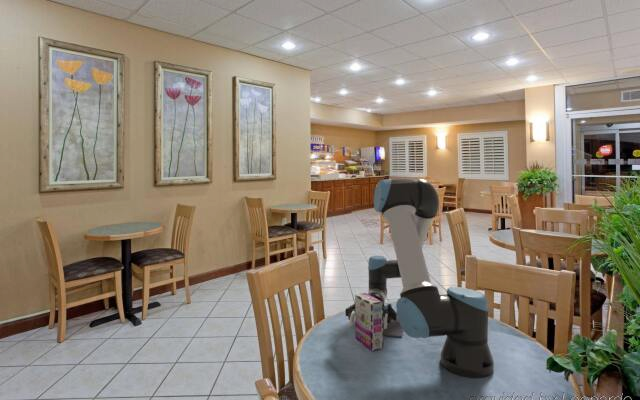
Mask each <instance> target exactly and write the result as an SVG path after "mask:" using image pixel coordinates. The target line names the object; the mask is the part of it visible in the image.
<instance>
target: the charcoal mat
mask: <svg viewBox="0 0 640 400" xmlns="http://www.w3.org/2000/svg"><path fill="white" fill-rule="evenodd" d="M384 319H385V318H384V317H383V337H390V338H398V339H399V338H401V339H402V338H403V332H404V330H403V329H402V327H401V325H400V322H399V320H398V316H397V320H396V321H394V320H393V319H392V320H391V323H387V328H386V329H384Z"/></svg>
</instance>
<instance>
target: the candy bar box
mask: <svg viewBox="0 0 640 400" xmlns="http://www.w3.org/2000/svg"><path fill="white" fill-rule="evenodd" d="M354 301H355V303H354V304H355V319H354V322H355V323H354V324H355V325H354V327H355V334H354V335H355V340H356V341H357V342H359V343H360V344H361V345H362V346H364V347H366V348H367V350H369V351H371V352H374V351H379V350H383V349H384V336H383V302H382V301H380V300H378V299H376V298H375V297H373V296H371V295H369V294H368V292H365V293H358V294H354Z"/></svg>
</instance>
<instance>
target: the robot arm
mask: <svg viewBox="0 0 640 400" xmlns="http://www.w3.org/2000/svg"><path fill="white" fill-rule="evenodd" d="M373 206H374V207H373V208H374V210H375V212H376V213H378V214H379V213H381V215H382V218H383V220H384V221H386V222H387V223H388V226H389V230H390V235H391V239H392V244H393V249H394V252H395V257H396V259H394V260H393V259H391V260H387V257H386V256H384V255H372V256H370V257H369V259H368V266H367V269H368V270H367V272H368V292H367V294H369V295H371V296H373V297H375V298H376V299H378V300H380V301H382V302H383V317H384V318H385V319H384V329H386V328H387V323H391V320H392V319H393V320H394V321H396V320H397V316H398V320H399V322H400V325H401V327H402V329H403V332H404V333H405V334H406V335H407V336H408V337H410V338H413V339H420V338H422V339H426V338H429V337H430V338H432V337H443V336H446V337H445V341H444V344H443V346H442V349H441V352H440V364H441V365H442V367H444V368H445V369H446V370H448V371H450V372H451V373H454V374H456V375H459V376H461V377H467V378H484V377H485V378H486V377H488V376H490V375H492V374H493V372H494V370H495V369H494V366H495V365H494V358H493V355H492V352H491V350H490V345H489V341H488V340H489V339H488V336H489V333H488V332H489V331H488V330H489V311H490V309H489V302H488V298H487V296H486V295H485V294H483V293H482V292H481V291H477V290H475V289H470V288H467V287H466V288H465V287H460V286H451V287H448V288H447V289H446V291H445V292H446V294H440V292H439V288H438V286H437V285H435V284H433V283H432V282H431V278H430V274H429V269H428V267H427V264H426V259H425V257H424V256H425V255H424V252H423V248H424V247H423V246H424V244H425V241H426V238H427V235H428V232H429V229H430V227H431V223H432V220H433V219H435V218H436V217H437V214H438V212H439V209H440V199H439V194H438V192H437V190H436V189H435V187H434V185H432V184H431V183H430V182H429V181H427V180H425V179H423V178H418V177H417V178H397V179H396V178H395V179H394V178H393V179H392V178H387V179H381V180H379V181H378V182H377V184H376V186H375V189H374V195H373ZM398 278H399V279H400V278H401V279H400V280H401V282H402V284H401V285H402V287H403V288H402V290H401V291H400V293H399V296H400V298H398V299H397V301H396V305H395V307H396V310H394V308H393V307H392V304H391V303H388V304H387V305H385V303H386V298H387V295H388V288H387V280H388V279H398ZM344 312H345V317H347V318H348V320H349V326H353V323H354V322H355V303H353V304H352V305H350V306H348V307H346V308H345V311H344Z"/></svg>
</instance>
